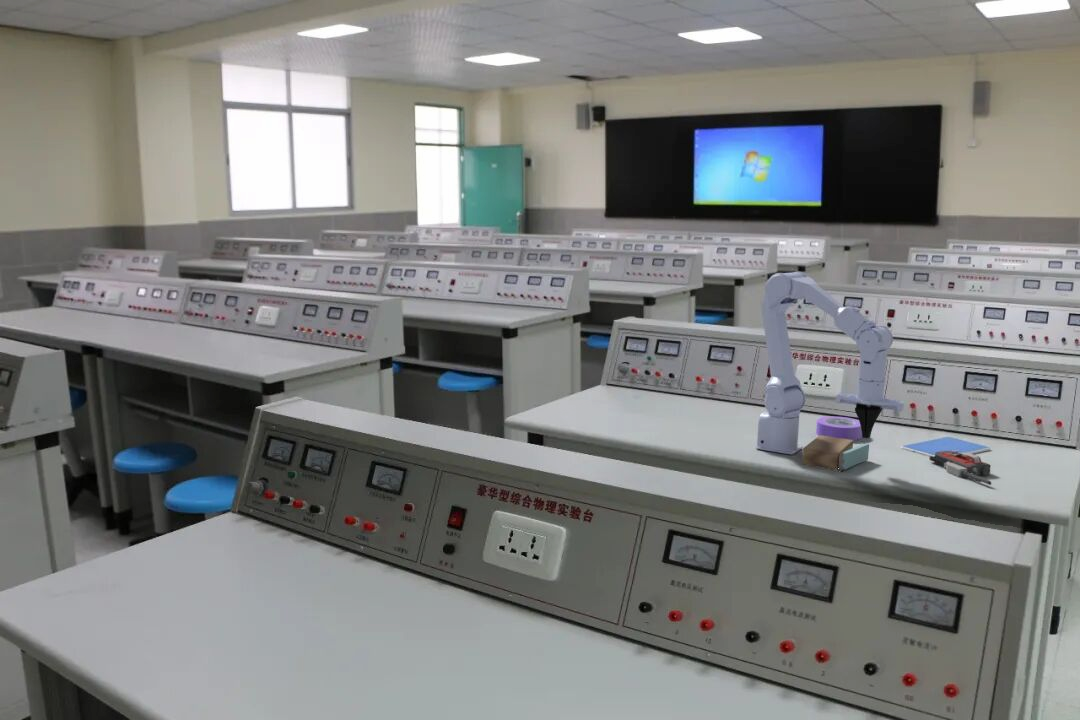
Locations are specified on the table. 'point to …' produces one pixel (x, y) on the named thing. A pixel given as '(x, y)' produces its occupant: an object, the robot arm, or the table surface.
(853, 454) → the pale teal rectangular panel
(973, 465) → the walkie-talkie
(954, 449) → the tablet computer
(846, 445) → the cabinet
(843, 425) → the masking tape
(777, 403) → the robot arm
